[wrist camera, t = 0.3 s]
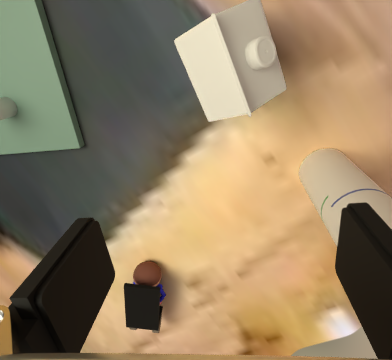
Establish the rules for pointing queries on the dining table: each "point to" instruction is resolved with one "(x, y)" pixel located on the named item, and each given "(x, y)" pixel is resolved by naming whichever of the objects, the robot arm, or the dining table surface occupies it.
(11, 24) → the post board
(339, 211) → the cylindrical container
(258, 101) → the milk carton
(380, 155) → the dining table surface
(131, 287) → the figurine character
